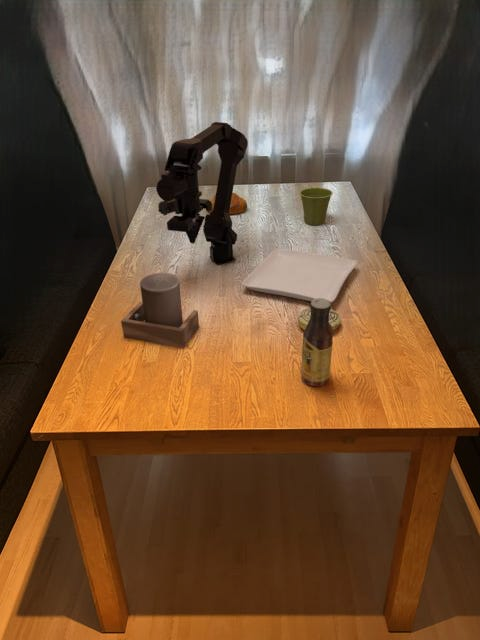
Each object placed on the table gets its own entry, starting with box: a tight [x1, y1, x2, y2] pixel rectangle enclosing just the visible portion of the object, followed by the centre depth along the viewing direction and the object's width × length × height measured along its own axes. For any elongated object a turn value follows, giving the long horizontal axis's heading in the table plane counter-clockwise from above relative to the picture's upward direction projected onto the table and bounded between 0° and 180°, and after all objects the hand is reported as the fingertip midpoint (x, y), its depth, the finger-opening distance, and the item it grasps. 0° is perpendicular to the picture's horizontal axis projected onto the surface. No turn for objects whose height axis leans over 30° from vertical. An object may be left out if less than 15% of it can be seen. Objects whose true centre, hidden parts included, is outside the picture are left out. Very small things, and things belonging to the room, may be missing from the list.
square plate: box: [241, 248, 359, 304], centre depth 155 cm, size 27×27×4 cm
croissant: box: [209, 192, 248, 215], centre depth 207 cm, size 14×16×8 cm
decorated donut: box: [297, 307, 342, 333], centre depth 134 cm, size 10×11×4 cm
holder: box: [120, 301, 200, 349], centre depth 133 cm, size 10×16×5 cm, turn 71°
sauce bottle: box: [300, 298, 334, 387], centre depth 111 cm, size 7×6×20 cm
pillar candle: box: [139, 272, 184, 328], centre depth 132 cm, size 10×10×15 cm
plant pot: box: [298, 187, 334, 226], centre depth 192 cm, size 12×12×11 cm
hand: (192, 242), depth 152 cm, fingers closed
